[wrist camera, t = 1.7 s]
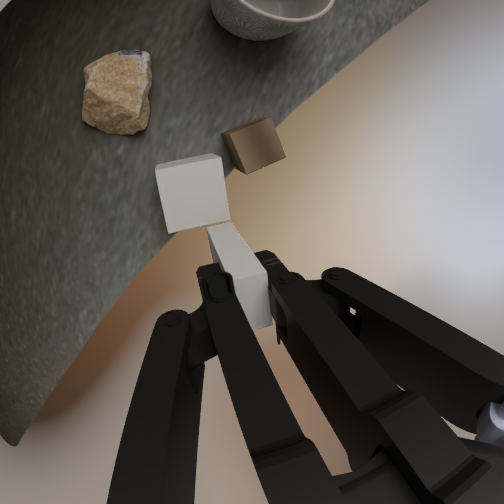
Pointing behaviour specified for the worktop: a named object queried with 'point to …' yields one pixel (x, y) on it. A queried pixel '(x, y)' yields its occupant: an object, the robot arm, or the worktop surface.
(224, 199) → the block
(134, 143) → the worktop surface
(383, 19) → the worktop surface
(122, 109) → the stone
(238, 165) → the walnut block
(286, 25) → the planter
